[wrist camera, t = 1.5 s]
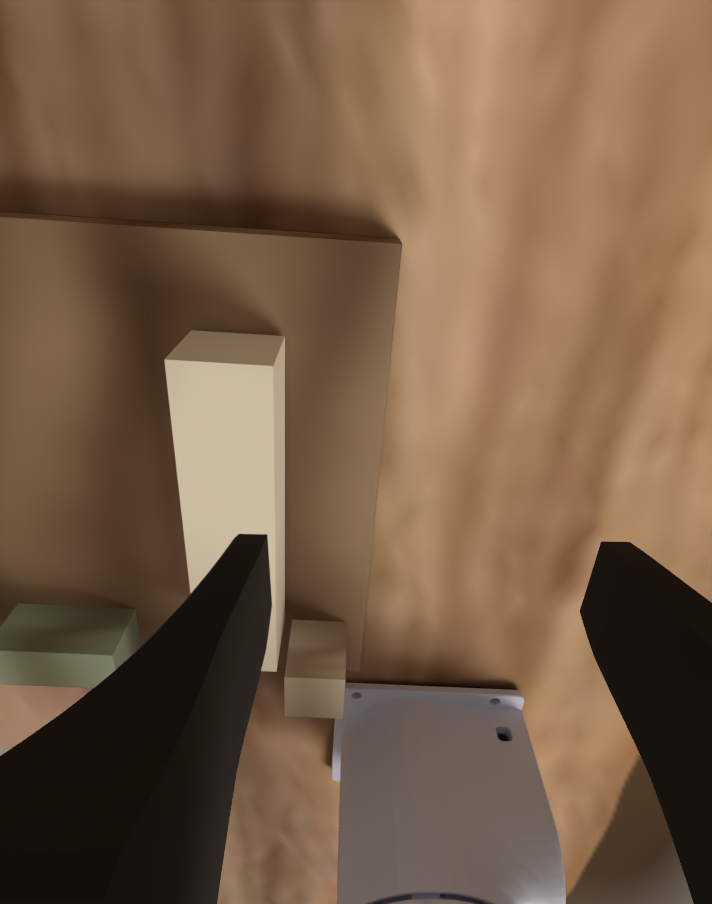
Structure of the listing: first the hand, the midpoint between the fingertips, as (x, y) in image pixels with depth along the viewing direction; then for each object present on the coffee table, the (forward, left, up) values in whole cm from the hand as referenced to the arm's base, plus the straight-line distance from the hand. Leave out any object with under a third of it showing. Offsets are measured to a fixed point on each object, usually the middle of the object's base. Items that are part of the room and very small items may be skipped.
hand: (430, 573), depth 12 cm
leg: (+6, +4, -8) cm, 10 cm away
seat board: (+10, +4, -10) cm, 14 cm away
